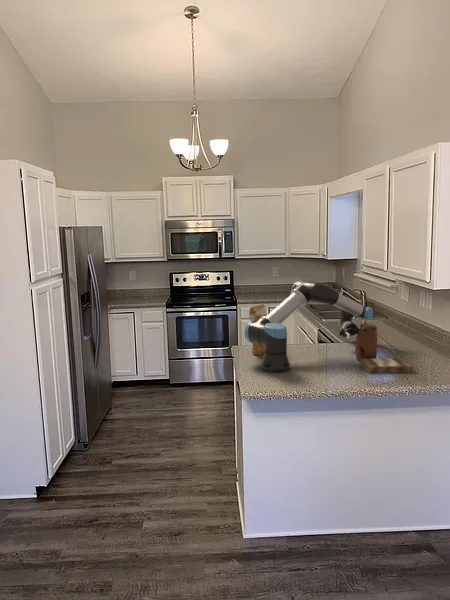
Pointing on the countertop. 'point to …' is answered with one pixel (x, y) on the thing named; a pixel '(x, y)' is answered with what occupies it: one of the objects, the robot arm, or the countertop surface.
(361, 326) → the catalogued terracotta fragment
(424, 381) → the countertop surface
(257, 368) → the countertop surface
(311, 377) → the countertop surface
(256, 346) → the pancake mix bag
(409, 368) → the plinth
